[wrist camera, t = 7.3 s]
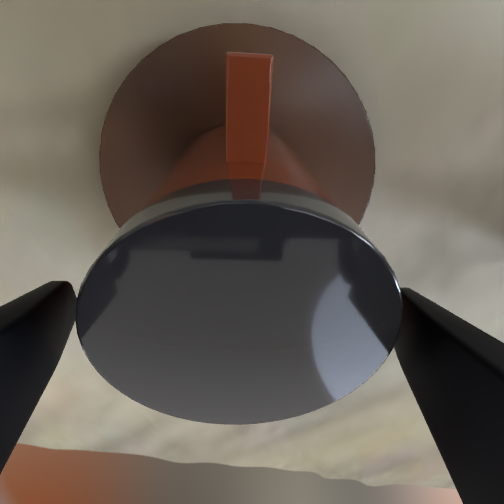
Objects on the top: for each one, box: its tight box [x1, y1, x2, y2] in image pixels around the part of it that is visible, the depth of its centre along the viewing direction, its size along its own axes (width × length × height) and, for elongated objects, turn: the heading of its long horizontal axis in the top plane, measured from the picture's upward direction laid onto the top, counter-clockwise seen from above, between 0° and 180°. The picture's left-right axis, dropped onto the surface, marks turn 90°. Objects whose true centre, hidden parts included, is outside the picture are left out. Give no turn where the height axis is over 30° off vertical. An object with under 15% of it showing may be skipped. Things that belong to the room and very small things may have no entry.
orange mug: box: [75, 52, 403, 425], centre depth 9 cm, size 9×7×9 cm
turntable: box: [100, 23, 375, 228], centre depth 15 cm, size 14×14×1 cm
